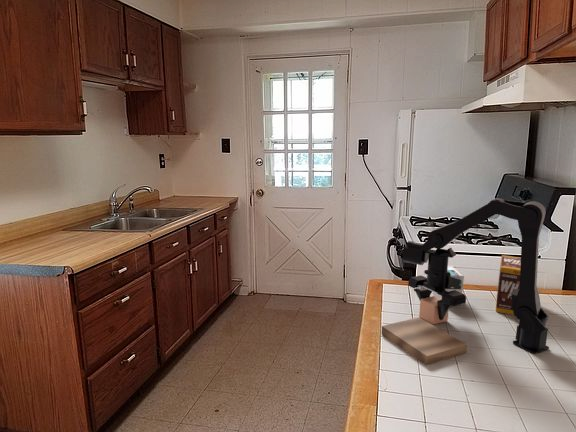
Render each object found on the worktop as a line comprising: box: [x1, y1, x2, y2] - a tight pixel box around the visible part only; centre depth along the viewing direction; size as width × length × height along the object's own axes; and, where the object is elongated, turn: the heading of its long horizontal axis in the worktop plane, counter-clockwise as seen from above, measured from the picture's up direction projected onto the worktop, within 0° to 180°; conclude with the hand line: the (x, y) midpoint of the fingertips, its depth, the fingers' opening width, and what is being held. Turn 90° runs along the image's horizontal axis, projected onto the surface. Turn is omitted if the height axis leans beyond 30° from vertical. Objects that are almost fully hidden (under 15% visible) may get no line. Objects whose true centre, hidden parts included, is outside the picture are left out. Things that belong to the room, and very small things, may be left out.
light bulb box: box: [432, 265, 465, 299], centre depth 145 cm, size 11×7×11 cm, turn 179°
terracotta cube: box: [418, 295, 450, 325], centre depth 129 cm, size 6×6×6 cm
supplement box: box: [495, 255, 521, 316], centre depth 139 cm, size 10×15×16 cm
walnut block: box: [381, 317, 468, 366], centre depth 115 cm, size 18×14×3 cm
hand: (433, 315), depth 130 cm, fingers closed on terracotta cube, 6 cm apart
